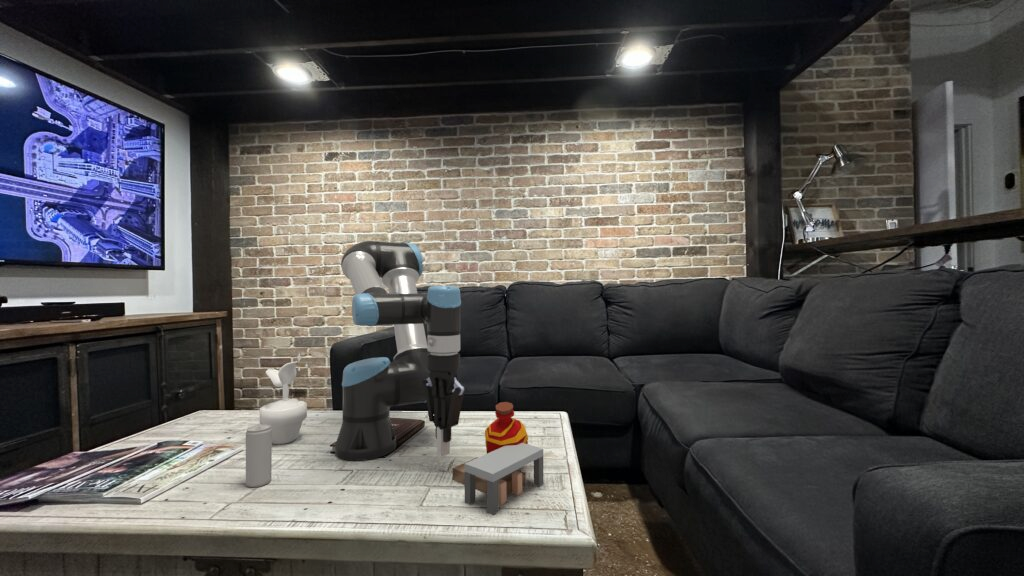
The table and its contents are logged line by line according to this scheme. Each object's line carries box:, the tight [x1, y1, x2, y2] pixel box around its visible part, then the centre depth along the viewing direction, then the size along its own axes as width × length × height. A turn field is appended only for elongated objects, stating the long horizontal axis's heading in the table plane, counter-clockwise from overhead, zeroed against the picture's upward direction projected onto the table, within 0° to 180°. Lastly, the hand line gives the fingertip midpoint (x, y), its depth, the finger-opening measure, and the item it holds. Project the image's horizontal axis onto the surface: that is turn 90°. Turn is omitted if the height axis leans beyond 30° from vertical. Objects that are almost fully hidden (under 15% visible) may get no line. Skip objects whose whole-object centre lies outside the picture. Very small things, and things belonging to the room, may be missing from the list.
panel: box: [452, 456, 526, 497], centre depth 90 cm, size 14×8×3 cm, turn 51°
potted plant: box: [259, 351, 309, 445], centre depth 116 cm, size 13×12×25 cm
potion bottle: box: [484, 401, 529, 454], centre depth 95 cm, size 10×10×15 cm
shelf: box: [464, 443, 545, 516], centre depth 85 cm, size 8×16×8 cm, turn 140°
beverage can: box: [245, 423, 273, 488], centre depth 90 cm, size 5×5×12 cm
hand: (443, 454), depth 96 cm, fingers closed
